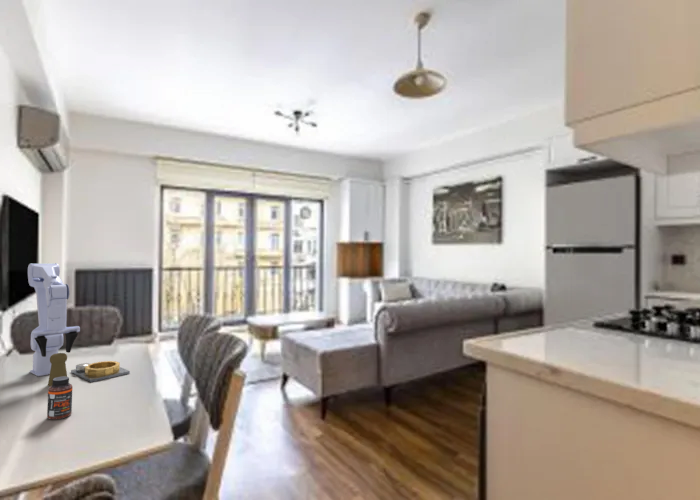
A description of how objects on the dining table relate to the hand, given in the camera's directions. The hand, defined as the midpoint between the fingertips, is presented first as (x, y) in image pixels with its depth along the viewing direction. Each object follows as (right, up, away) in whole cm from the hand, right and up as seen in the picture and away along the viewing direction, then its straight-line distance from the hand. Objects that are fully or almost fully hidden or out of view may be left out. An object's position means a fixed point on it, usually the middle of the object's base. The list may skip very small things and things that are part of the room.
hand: (56, 354), depth 149 cm
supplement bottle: (+22, -11, -29) cm, 38 cm away
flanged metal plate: (+9, -11, +11) cm, 18 cm away
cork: (+2, -11, -2) cm, 11 cm away
